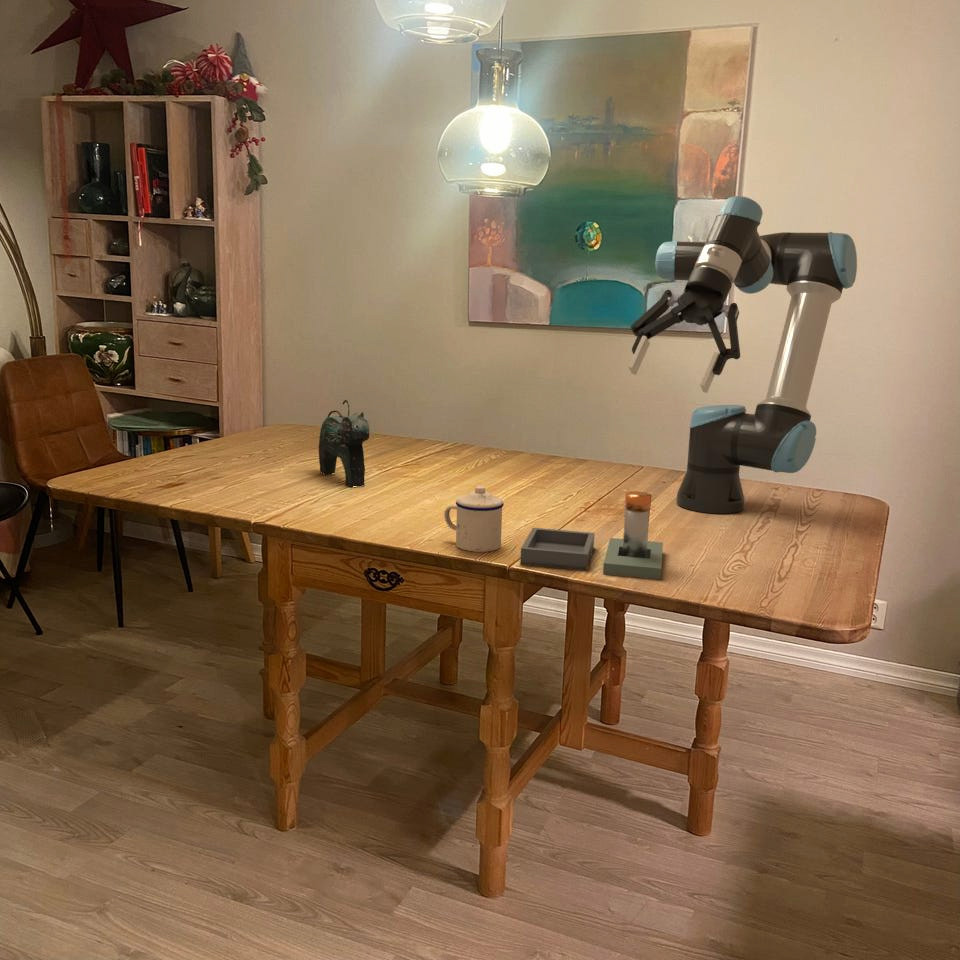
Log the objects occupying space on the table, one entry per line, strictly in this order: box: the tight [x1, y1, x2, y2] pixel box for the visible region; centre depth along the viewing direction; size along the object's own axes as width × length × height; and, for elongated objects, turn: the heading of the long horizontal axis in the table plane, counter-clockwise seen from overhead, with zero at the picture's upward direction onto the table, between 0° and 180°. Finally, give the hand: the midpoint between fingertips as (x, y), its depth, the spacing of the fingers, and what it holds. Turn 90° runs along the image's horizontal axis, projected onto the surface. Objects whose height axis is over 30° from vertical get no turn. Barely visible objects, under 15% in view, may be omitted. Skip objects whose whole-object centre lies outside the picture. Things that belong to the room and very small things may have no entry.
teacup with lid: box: [443, 485, 505, 553], centre depth 178 cm, size 12×9×12 cm
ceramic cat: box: [318, 399, 370, 488], centre depth 225 cm, size 20×6×20 cm, turn 35°
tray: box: [519, 527, 595, 571], centre depth 174 cm, size 14×12×3 cm
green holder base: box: [602, 537, 664, 580], centre depth 171 cm, size 16×10×2 cm, turn 168°
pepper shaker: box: [622, 490, 652, 558], centre depth 170 cm, size 5×5×13 cm
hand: (667, 379), depth 163 cm, fingers open, 13 cm apart
